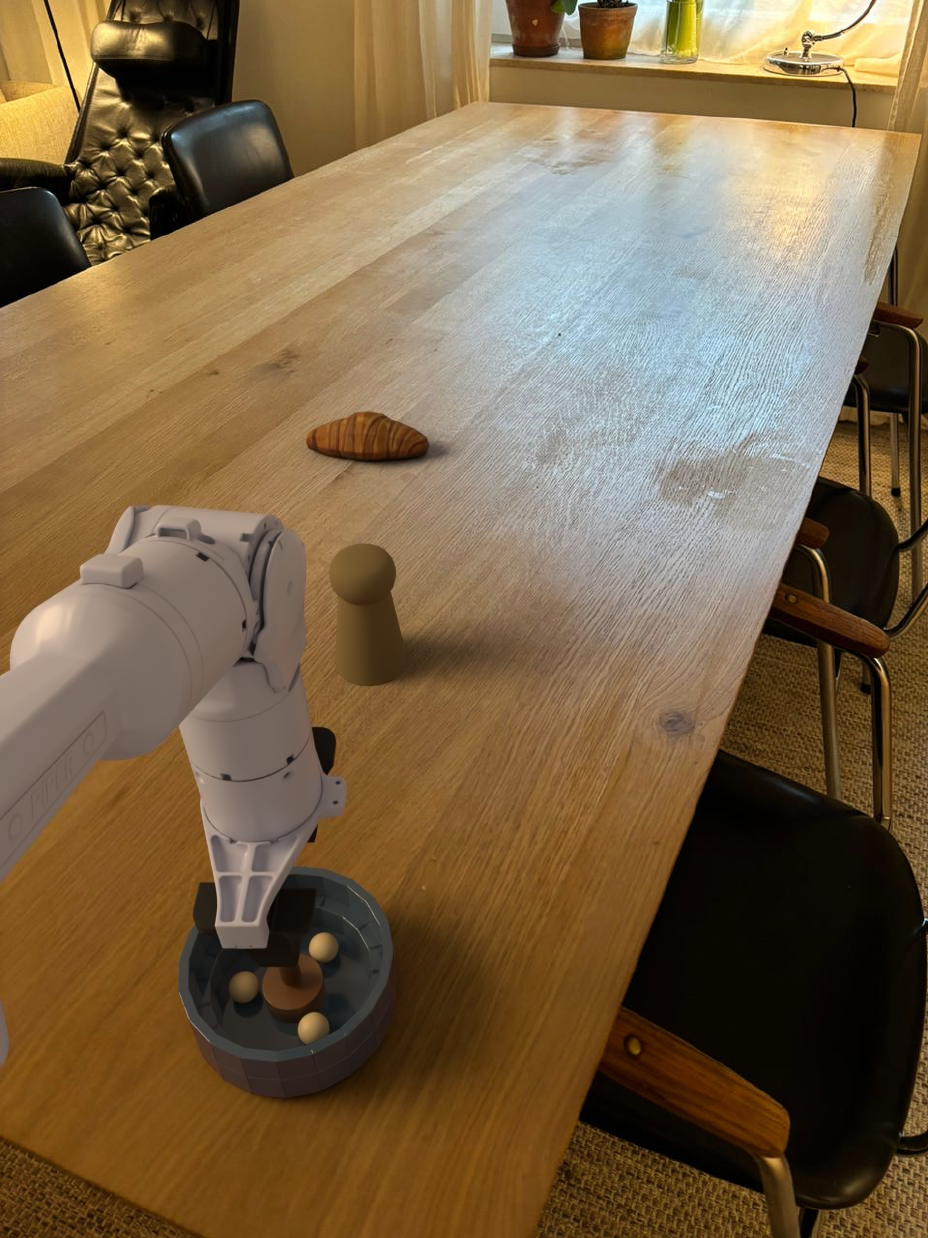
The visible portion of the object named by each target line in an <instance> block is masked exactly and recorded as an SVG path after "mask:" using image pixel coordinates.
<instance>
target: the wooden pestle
mask: <svg viewBox="0 0 928 1238" xmlns="http://www.w3.org/2000/svg"><path fill="white" fill-rule="evenodd" d="M262 991H263V995H264V998H265V1002H266V1005H267V1008H268V1010H269V1012H270V1013H271V1015H273V1016H274V1017H275V1018H276V1019H278V1020H280V1021H283V1022H286V1023H297V1022H300V1021H301V1019H302V1018H303V1017H304V1016H305V1015H307V1014H309V1013H312V1012H317V1011H318V1010H319V1009H320V1007H321V1006H322V1004H323V1002H324V999H325V992H326V990H325V983H324V978H323V973H322V970H321V967H320V966H319V964H318V963H317V962H316V961H315V960H314V959H312V958H311V957H309V956H306V955H303V954H300V956H299V961H298V964H297V965H296V966H295V967H269V968H268V969H267V971H266V973H265V975H264V977H263V981H262Z"/></svg>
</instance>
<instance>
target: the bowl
mask: <svg viewBox="0 0 928 1238" xmlns="http://www.w3.org/2000/svg"><path fill="white" fill-rule="evenodd" d="M281 888H317V893H316V901H315V908H314V915H313V920H312V923H311V925H310V928H309V930H308V933H306V934H305V935H303V936H302V940H301V949H300V954H303V955H306V956H309V957H311V955H310V952H309V945H310V942H311V940H312V939H313V938H314V936H316V935H317V934H319V933H329V934H332V935H333V936H334V937H335V938H336V940H337V942H338V953H337V955H336V957H335V958H334V959H333V960H332V961H330V962H328V963H319V962H317V961H316V962H317V963H318V964H319V966H320V967H321V970H322V973H323V978H324V983H325V990H326V992H325V999H324V1002H323V1004H322V1006H321V1007H320V1009H319V1010H318V1011H317V1013H320V1014H322V1015H324V1016H325V1017H326V1019H327V1020H328V1023H329V1034H328V1035H327V1036H326V1037H324V1038H322V1039H320V1040H318V1041H316V1042H314V1043H312V1044H310V1045H307V1044H305V1043H303V1042H302V1040H301V1039H300V1037H299V1034H298V1026H299V1023H300V1022H297V1023H286V1022H283V1021H280V1020H278V1019H276V1018H275V1017H274V1016H273V1015H271V1013H270V1012H269V1010H268V1008H267V1005H266V1002H265V998H264V995H263V991H262V981H263V977H264V975H265V973H266V971H267V969H268V968H269V967H260V966H259V965H258V964H257V963H256V962H255V961H254V960H253V959H252V958H251V957H250V956H249V955H248V954H246V953H245V952H244V951H243V950H242V949H237V948H223V947H222V945H221V942H220V939H219V938H216V937H212V936H207V935H202V934H200V933H199V931H198V930H197V927H196V925H195V924H194V925H193V926H192V927H191V929H190V930H189V932H188V935H187V937H186V940H185V943H184V946H183V948H182V951H181V954H180V957H179V959H178V970H177V971H178V972H177V973H178V976H177V977H178V979H177V982H178V984H177V985H178V986H177V992H178V996H179V998H180V1001H181V1004H182V1006H183V1008H184V1012H185V1014H186V1017H187V1020H188V1022H189V1025H190V1027H191V1030H192V1033H193V1036H194V1038H195V1041H196V1043H197V1047H198V1048H199V1050H200V1053H201V1056H202V1058H203V1059H204V1060H205V1062H206V1063H207V1064H208V1065H209V1066H210V1067H211V1068H212V1069H213V1070H214V1071H215V1073H216V1074H217V1075H218V1076H219V1077H220V1078H221V1080H223V1081H224V1082H226V1083H228V1084H230V1085H232V1086H234V1087H236V1088H239V1089H240V1090H242V1091H244V1092H246V1093H249V1094H251V1095H255V1096H265V1097H273V1098H282V1099H290V1098H295V1097H300V1096H304V1095H310V1094H314V1093H319V1092H321V1091H325V1090H326V1089H328V1088H329V1087H332V1086H333V1085H335V1084H337V1083H339V1082H341V1081H342V1080H345V1079H346V1078H348V1077H349V1076H352V1075H353V1074H354V1073H355V1072H356V1071H357V1070H358V1069H359V1068H360V1067H361V1066H362V1065H363V1064H364V1063H365V1062H366V1061H367V1060H368V1059H369V1058H370V1057H371V1056H372V1055H373V1054H374V1053H375V1052H376V1051H377V1049H378V1048H379V1046H380V1044H381V1042H382V1041H383V1038H384V1037H385V1035H386V1033H387V1031H388V1029H389V1028H390V1025H391V1023H392V1022H393V1019H394V1014H395V1010H396V1009H395V1008H396V1003H397V997H398V992H399V991H398V990H399V985H398V977H397V970H396V969H397V968H396V959H395V950H394V944H393V937H392V931H391V925H390V923H389V919H388V918H387V916H386V914H385V913H384V911H383V909H382V908H381V906H380V904H379V903H378V901H377V899H376V897H374V896H373V895H372V894H371V893H370V892H369V891H367V890H366V889H365V888H364V887H363V886H362V885H360V884H359V883H358V882H356V881H355V880H354V879H352V878H350V877H348V876H345V875H344V874H343V875H342V874H340V873H337V872H335V871H332V870H330V869H327V868H321V867H311V866H299V865H293V867H292V869H291V871H290V872H289V874H288V876H287V877H286V879H285V881H284V883H283V884H282V886H281ZM311 958H312V957H311ZM312 959H313V958H312ZM242 971H248V972H251V973H253V974H254V975H255V976H256V977H257V979H258V981H259V991H258V994H257V995H256V997H255V998H254V999H253V1000H251V1001H250V1002H247V1003H238V1002H236V1001H234V1000H233V999H232V998H231V996H230V994H229V983H230V980H231V979H232V977H233V976H234V975H235V974H237V973H239V972H242Z"/></svg>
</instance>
